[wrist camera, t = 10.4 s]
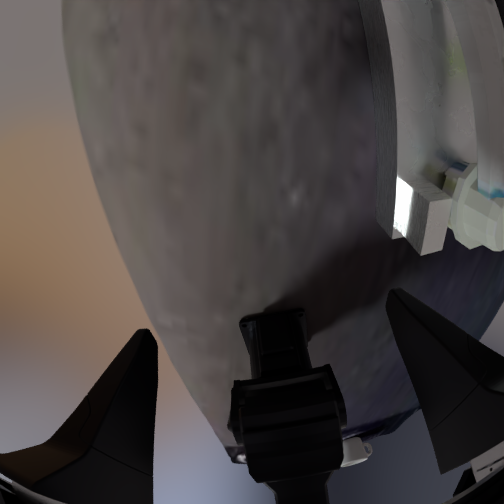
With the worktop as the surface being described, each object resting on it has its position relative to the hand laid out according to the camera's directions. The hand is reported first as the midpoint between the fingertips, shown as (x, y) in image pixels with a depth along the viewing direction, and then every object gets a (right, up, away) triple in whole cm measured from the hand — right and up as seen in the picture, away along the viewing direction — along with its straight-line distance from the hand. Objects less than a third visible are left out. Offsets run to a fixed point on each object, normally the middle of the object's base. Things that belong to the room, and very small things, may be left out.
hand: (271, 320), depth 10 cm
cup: (+28, -51, +53) cm, 80 cm away
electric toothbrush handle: (+13, +15, +2) cm, 20 cm away
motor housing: (+13, +19, +3) cm, 23 cm away
